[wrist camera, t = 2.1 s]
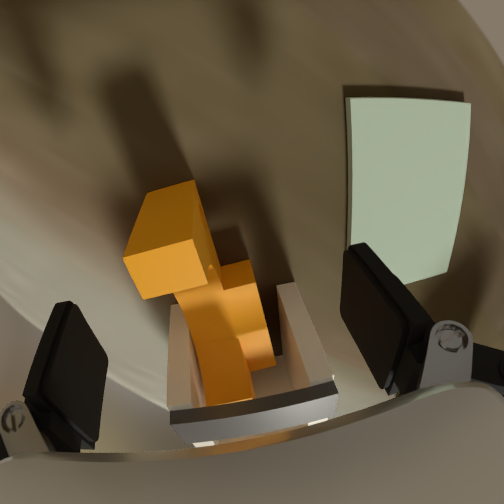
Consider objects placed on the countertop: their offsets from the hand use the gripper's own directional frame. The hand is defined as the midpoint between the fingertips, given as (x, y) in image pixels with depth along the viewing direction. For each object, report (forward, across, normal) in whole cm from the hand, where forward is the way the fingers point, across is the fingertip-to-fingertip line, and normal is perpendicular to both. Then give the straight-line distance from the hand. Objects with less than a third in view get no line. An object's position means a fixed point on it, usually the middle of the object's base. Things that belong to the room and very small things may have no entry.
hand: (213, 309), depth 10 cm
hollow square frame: (+7, -1, +9) cm, 12 cm away
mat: (+7, -13, +1) cm, 15 cm away
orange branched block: (+8, 0, +4) cm, 9 cm away
